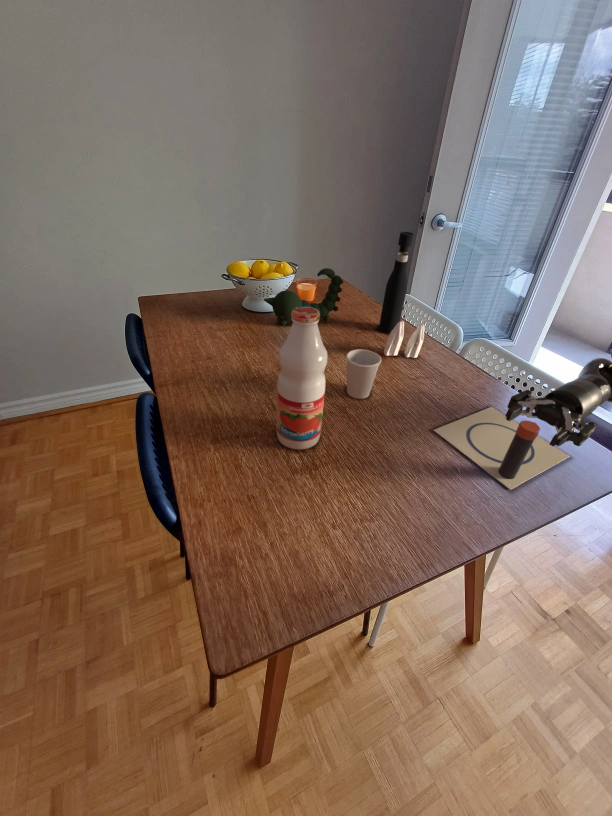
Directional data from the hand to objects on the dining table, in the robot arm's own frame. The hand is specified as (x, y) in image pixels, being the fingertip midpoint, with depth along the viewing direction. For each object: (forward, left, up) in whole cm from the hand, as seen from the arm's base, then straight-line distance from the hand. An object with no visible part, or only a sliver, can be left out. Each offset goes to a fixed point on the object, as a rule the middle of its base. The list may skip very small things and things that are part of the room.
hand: (530, 428), depth 72 cm
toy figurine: (+79, +2, -12) cm, 80 cm away
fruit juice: (+29, +32, -12) cm, 44 cm away
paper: (+7, -6, -11) cm, 15 cm away
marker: (0, 0, -11) cm, 11 cm away
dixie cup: (+37, +10, -12) cm, 40 cm away
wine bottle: (+63, -22, -12) cm, 68 cm away
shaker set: (+47, -13, -12) cm, 50 cm away
